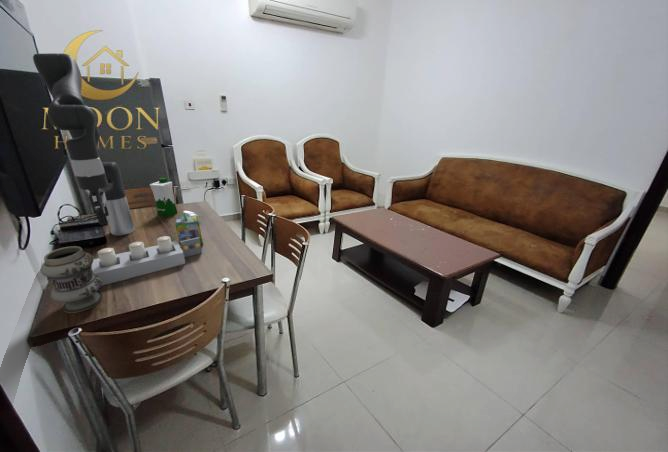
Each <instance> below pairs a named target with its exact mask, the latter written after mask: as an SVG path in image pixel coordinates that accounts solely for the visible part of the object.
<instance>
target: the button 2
mask: <svg viewBox="0 0 668 452" xmlns="http://www.w3.org/2000/svg"><path fill="white" fill-rule="evenodd" d="M128 248H129V249H128V250H129V251H130V253H131V256H132V259H141V258H144V257H145V256H146V251H145V248H146V247H145V244H144V242H143V241H134V242H131V243H130V244H128Z"/></svg>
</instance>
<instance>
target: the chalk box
mask: <svg viewBox="0 0 668 452" xmlns="http://www.w3.org/2000/svg"><path fill="white" fill-rule="evenodd" d="M182 212H183V211H182ZM197 215H198V214H196V215H194V216H186V215H185V213H184V212H183V213H182V216H179V217H175V224H174V225H175V229H176V233H177V236H178V243H179V245H180V247H181V242H180V241H184V240H189V239H193V238H198V237H199V238H200V244H201V246H203V245H204V242H203V237H202V236H203V235H202V232H201V228H200V224H199V221H198V216H197ZM183 216H184V217H183ZM181 249H182V247H181Z"/></svg>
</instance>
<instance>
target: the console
mask: <svg viewBox="0 0 668 452" xmlns="http://www.w3.org/2000/svg"><path fill="white" fill-rule="evenodd" d="M171 243H172V247H173V250H172V251H170V252H167V253H161V252H160V251H159V247H158V244H157V245H153V246H148V247H144V248H145V251H146V256H145V257H144V258H141V259H132V256H131V253H130V250H129V251H125V252H121V253H115V255H116V258H117V261H118V262H117V263H116V264H114V265H112V266H107V267H104V266H102V265H101V262H100V259H99V257H97V258H93V263H92V265H91V268H92V271H93V273H94V274H95V275H97V276H99V277H100V278H101V279H102V286H105V285H106V286H107V285H109V284H112V283H118V282H121V281H125V280H129V279H131V278H132V279H133V278H135V277H139V276H144V275H147V274H151V273H152V274H153V273H155V272H158V271H162V270H167V269H169V268H170V269H171V268H174V267H177V266H183V265H185V264H186V259H185V257H184V254H183V251H182V249H181V247H180V243H179V240H178V241H177V240H175V241H171Z"/></svg>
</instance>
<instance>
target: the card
mask: <svg viewBox="0 0 668 452" xmlns="http://www.w3.org/2000/svg"><path fill="white" fill-rule="evenodd" d="M180 242H181V247H182V251H183V254H184V258H187V257H190V256H195V255H198V254H202V253H203V250H202V245H201V244H200V238H199V237H198V238H193V239H189V240H184V241H180Z"/></svg>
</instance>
